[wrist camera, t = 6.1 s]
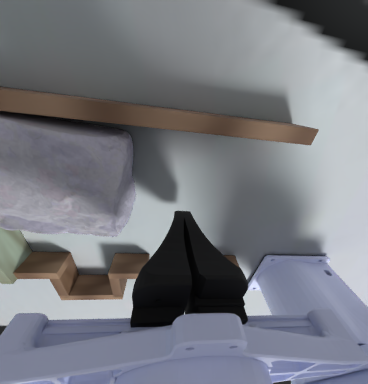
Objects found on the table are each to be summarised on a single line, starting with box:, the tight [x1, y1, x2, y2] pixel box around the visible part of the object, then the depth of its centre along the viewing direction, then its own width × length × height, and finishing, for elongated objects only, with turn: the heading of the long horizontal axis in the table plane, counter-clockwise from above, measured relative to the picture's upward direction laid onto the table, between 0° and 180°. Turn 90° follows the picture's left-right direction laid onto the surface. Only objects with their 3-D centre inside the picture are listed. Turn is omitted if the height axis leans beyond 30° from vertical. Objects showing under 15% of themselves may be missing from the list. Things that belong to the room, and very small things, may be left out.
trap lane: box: [0, 87, 319, 300], centre depth 15 cm, size 25×22×3 cm
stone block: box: [0, 111, 136, 237], centre depth 12 cm, size 12×5×10 cm
